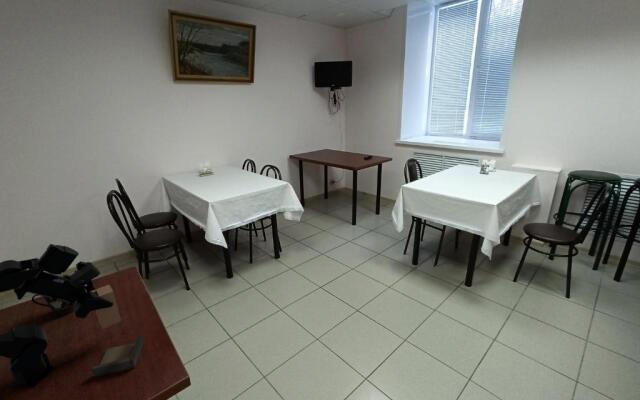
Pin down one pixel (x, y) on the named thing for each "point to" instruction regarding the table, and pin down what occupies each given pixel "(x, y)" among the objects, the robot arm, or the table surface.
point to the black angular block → (57, 306)
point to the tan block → (107, 314)
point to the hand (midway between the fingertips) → (110, 301)
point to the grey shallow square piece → (119, 358)
